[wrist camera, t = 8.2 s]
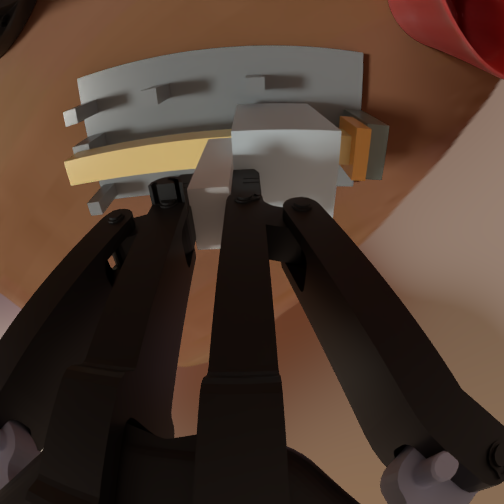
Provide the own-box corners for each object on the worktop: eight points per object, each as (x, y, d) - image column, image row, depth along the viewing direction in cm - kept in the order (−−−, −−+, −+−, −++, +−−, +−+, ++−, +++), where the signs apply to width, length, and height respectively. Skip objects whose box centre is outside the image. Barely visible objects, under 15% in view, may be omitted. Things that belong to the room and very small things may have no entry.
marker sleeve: (236, 104, 18) (231, 131, 12) (307, 103, 18) (341, 131, 12) (240, 167, 21) (237, 225, 15) (305, 165, 21) (332, 222, 15)
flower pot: (424, 83, 18) (499, 110, 11) (343, -12, 14) (400, -43, 6) (481, 35, 13) (552, 50, 6) (414, -54, 9) (478, -75, 1)
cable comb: (83, 77, 17) (36, 91, 12) (359, 53, 17) (399, 54, 12) (108, 195, 25) (77, 235, 20) (350, 181, 25) (377, 221, 19)
